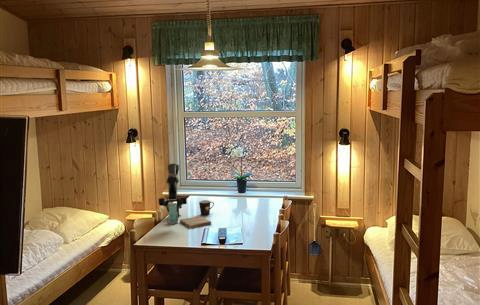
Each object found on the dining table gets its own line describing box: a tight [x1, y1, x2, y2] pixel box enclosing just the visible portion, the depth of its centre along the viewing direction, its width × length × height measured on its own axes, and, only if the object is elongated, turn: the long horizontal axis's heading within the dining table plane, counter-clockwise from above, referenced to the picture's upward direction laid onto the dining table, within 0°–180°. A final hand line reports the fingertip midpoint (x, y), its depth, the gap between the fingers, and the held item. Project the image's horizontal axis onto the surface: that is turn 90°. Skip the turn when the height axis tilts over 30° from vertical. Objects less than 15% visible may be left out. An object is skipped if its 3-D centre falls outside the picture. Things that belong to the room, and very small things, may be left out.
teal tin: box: [167, 201, 179, 223], centre depth 304 cm, size 6×6×13 cm
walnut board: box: [179, 215, 212, 229], centre depth 318 cm, size 18×16×2 cm
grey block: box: [167, 215, 179, 225], centre depth 320 cm, size 5×5×5 cm
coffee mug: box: [198, 199, 215, 217], centre depth 340 cm, size 12×9×10 cm
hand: (172, 211), depth 303 cm, fingers closed on teal tin, 6 cm apart
